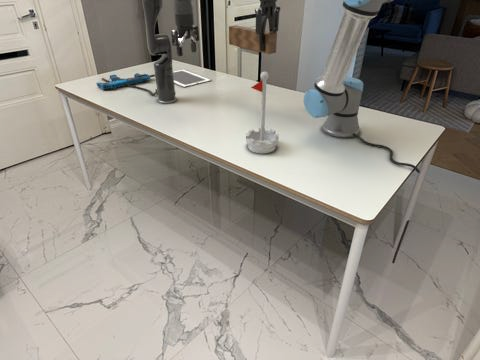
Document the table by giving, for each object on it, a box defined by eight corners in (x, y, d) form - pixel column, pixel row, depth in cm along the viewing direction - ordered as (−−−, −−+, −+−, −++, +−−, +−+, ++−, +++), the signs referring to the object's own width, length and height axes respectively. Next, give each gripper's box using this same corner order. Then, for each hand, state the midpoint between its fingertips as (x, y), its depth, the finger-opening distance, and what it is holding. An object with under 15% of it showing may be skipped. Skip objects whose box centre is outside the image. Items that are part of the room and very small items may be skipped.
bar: (275, 52, 152) (277, 33, 148) (269, 54, 150) (270, 34, 145) (235, 43, 169) (235, 25, 164) (229, 44, 166) (228, 26, 162)
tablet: (157, 75, 221) (157, 74, 221) (183, 69, 232) (183, 69, 232) (184, 87, 201) (183, 86, 200) (211, 80, 212) (211, 79, 211)
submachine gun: (140, 68, 226) (159, 74, 209) (142, 73, 228) (160, 80, 211) (89, 77, 207) (104, 85, 190) (90, 84, 209) (106, 92, 192)
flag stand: (269, 137, 144) (273, 65, 127) (283, 151, 134) (289, 74, 117) (240, 142, 140) (240, 68, 123) (253, 157, 130) (255, 78, 113)
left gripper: (188, 9, 143) (191, 49, 152) (164, 13, 133) (169, 56, 142) (202, 10, 139) (204, 52, 148) (178, 14, 130) (182, 58, 139)
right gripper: (276, -11, 147) (273, 45, 160) (246, -9, 137) (246, 51, 150) (289, -10, 143) (285, 48, 155) (260, -8, 133) (258, 54, 146)
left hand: (187, 53), depth 145 cm, fingers open, 8 cm apart
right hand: (266, 49), depth 153 cm, fingers closed on bar, 4 cm apart
